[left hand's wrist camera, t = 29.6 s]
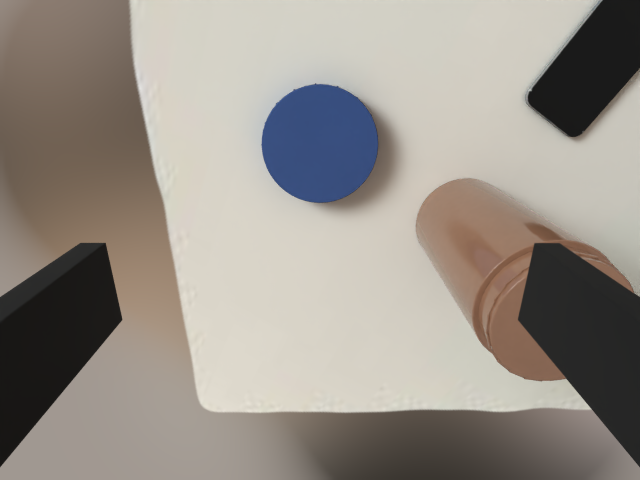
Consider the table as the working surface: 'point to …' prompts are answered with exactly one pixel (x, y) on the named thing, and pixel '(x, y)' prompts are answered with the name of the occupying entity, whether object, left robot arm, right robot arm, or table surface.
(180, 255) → the table surface
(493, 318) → the jar
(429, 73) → the table surface
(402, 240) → the table surface
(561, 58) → the smartphone
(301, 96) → the lid
